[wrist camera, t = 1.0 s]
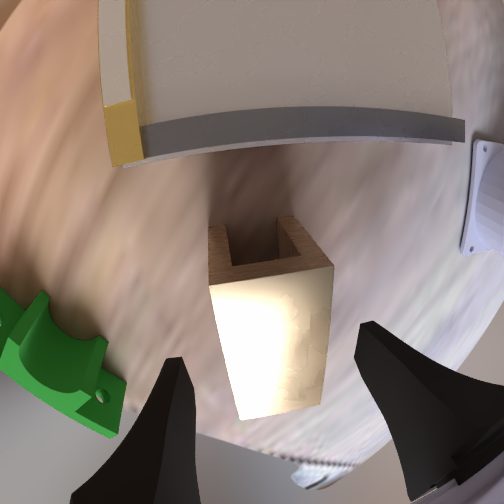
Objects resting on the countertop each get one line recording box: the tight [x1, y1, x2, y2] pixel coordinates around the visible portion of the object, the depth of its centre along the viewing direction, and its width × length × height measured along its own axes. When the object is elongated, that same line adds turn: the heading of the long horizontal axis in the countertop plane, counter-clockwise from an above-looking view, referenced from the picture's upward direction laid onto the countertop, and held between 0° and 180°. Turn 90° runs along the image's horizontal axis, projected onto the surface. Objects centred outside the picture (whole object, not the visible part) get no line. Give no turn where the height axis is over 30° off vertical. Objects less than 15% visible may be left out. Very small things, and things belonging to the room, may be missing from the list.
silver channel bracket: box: [98, 0, 465, 168], centre depth 8 cm, size 16×11×3 cm
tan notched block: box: [208, 216, 334, 420], centre depth 13 cm, size 8×4×5 cm, turn 6°
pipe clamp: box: [0, 287, 127, 438], centre depth 13 cm, size 11×4×5 cm, turn 42°
